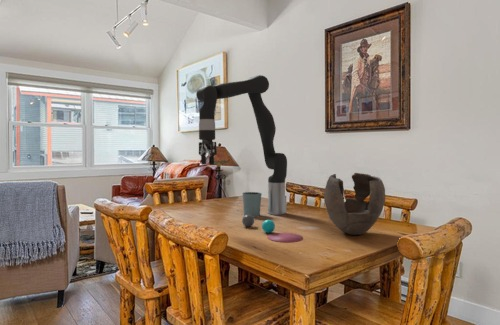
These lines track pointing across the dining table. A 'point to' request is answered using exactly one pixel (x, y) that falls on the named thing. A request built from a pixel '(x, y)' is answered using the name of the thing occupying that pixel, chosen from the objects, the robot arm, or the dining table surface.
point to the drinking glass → (252, 203)
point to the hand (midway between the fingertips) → (207, 164)
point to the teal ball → (268, 226)
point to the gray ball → (248, 220)
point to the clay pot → (355, 203)
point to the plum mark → (284, 237)
